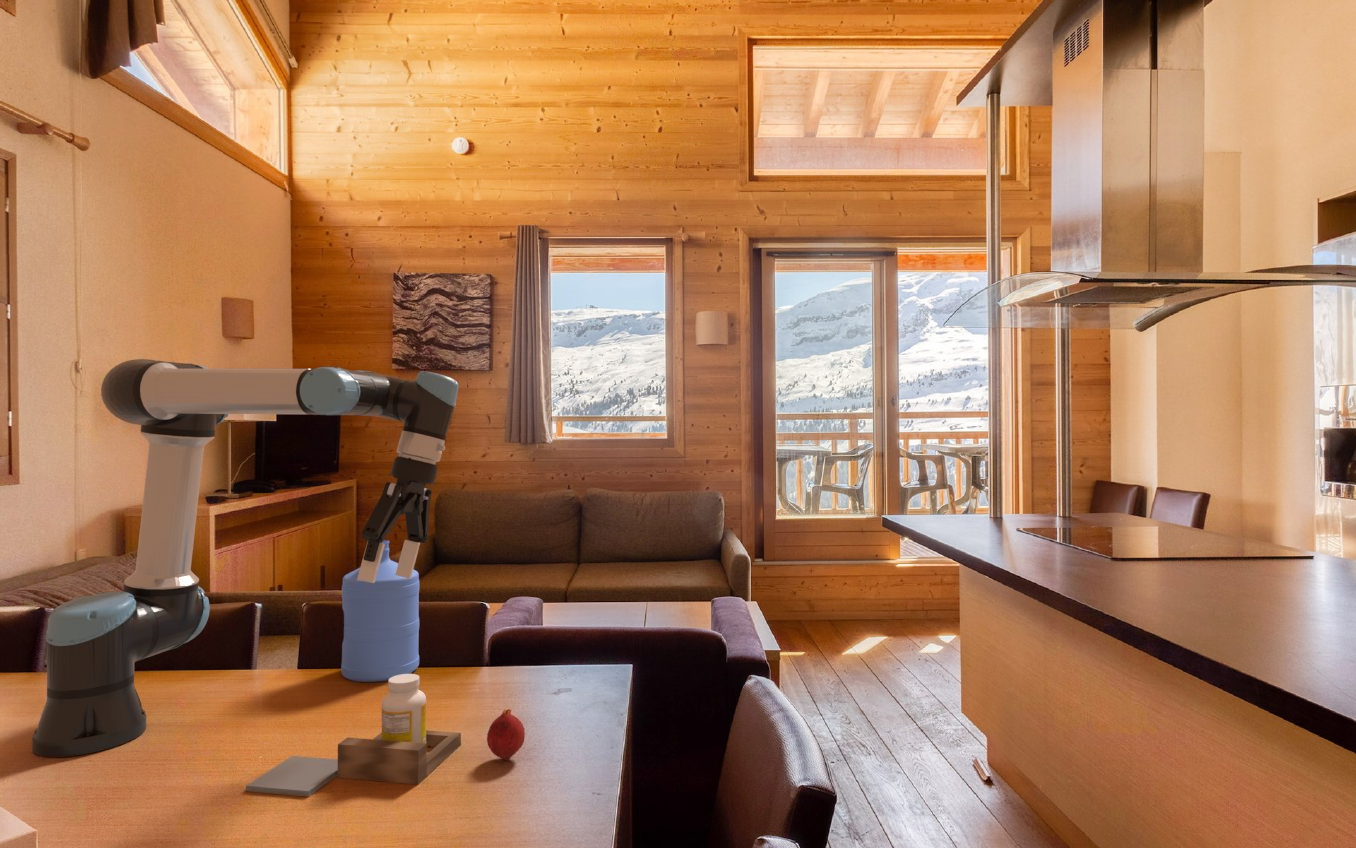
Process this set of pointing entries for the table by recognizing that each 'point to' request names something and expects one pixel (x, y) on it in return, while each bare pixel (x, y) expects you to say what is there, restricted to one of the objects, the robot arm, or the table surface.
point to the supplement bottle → (404, 710)
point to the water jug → (380, 624)
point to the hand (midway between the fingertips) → (385, 579)
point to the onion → (506, 735)
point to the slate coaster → (296, 776)
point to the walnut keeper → (394, 757)
